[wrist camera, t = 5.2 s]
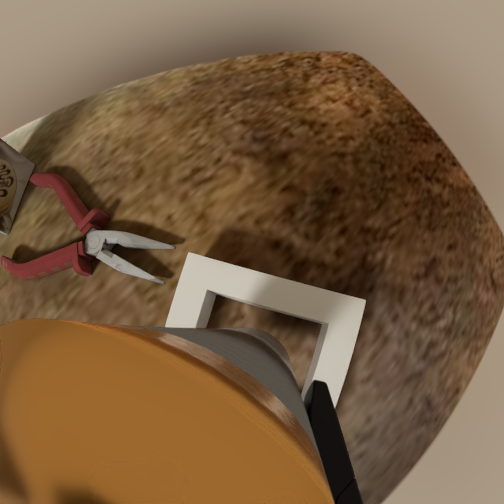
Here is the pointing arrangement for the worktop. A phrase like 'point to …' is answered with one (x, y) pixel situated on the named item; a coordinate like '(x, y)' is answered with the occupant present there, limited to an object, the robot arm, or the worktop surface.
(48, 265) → the pliers
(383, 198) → the worktop surface
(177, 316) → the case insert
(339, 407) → the worktop surface
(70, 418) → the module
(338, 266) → the worktop surface
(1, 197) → the coffee box
